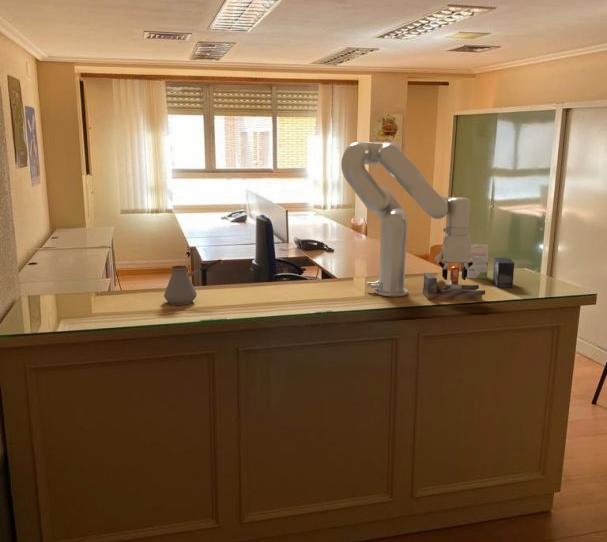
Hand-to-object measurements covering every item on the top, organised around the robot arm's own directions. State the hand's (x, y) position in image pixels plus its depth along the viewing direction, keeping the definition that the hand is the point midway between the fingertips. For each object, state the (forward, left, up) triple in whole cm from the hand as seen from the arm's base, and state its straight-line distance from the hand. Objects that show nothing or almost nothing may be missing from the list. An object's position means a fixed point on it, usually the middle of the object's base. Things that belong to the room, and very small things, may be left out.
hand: (454, 278), depth 222 cm
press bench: (0, 0, -7) cm, 7 cm away
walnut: (-5, 0, -5) cm, 7 cm away
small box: (+25, +18, -7) cm, 31 cm away
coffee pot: (-95, -8, -7) cm, 96 cm away
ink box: (+18, +31, -7) cm, 36 cm away
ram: (0, 0, -5) cm, 5 cm away
